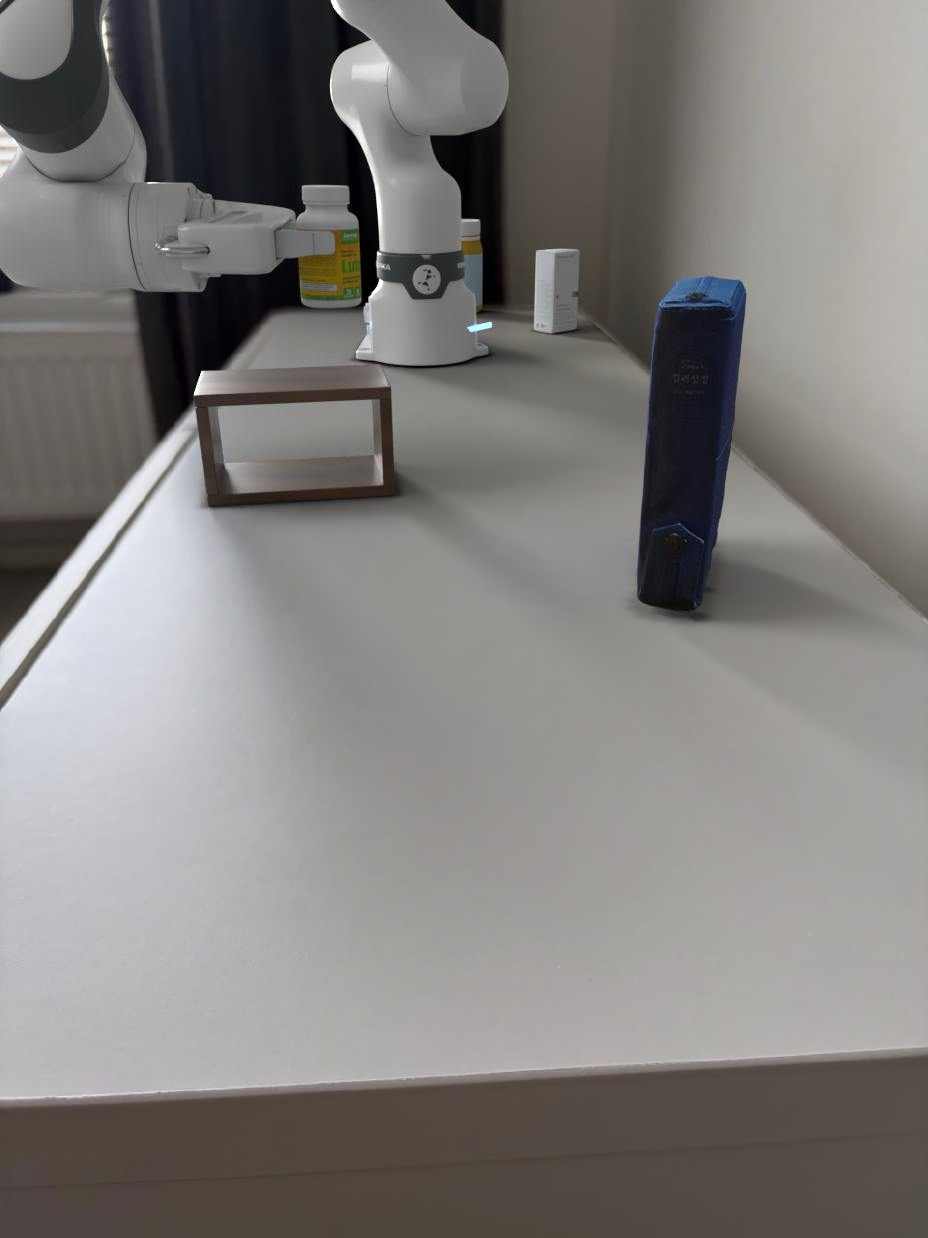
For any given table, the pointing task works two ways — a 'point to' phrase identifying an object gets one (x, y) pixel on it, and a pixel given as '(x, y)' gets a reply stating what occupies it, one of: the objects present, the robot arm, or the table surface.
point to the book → (688, 437)
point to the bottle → (472, 258)
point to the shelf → (297, 474)
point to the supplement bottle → (340, 272)
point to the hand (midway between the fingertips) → (338, 238)
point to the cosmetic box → (556, 290)
